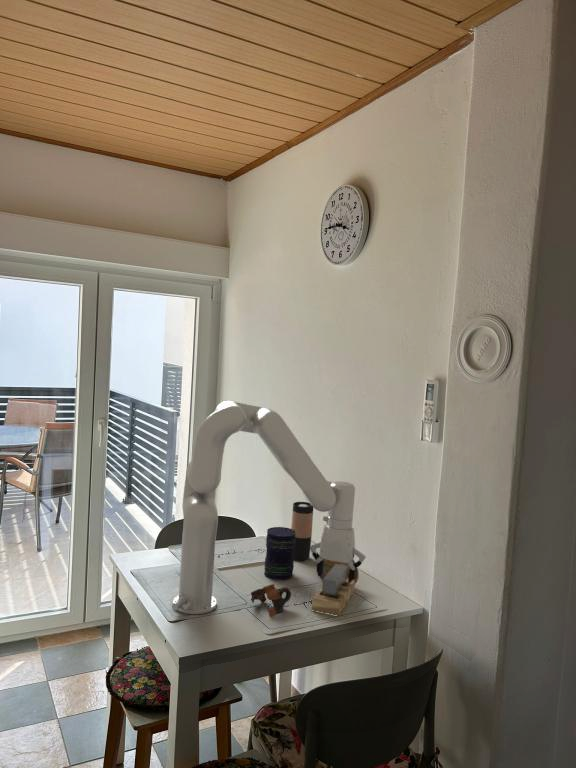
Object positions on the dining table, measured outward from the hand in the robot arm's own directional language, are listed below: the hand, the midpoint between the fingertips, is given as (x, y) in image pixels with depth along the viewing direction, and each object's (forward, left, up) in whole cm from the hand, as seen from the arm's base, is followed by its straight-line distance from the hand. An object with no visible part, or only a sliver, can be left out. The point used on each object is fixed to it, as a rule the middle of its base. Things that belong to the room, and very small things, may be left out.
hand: (335, 577), depth 179 cm
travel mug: (+30, +21, -8) cm, 38 cm away
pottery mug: (-14, +15, -8) cm, 22 cm away
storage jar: (+11, +22, -8) cm, 26 cm away
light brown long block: (0, 0, -7) cm, 7 cm away
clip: (0, 0, -7) cm, 7 cm away
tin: (+14, +3, -8) cm, 17 cm away
